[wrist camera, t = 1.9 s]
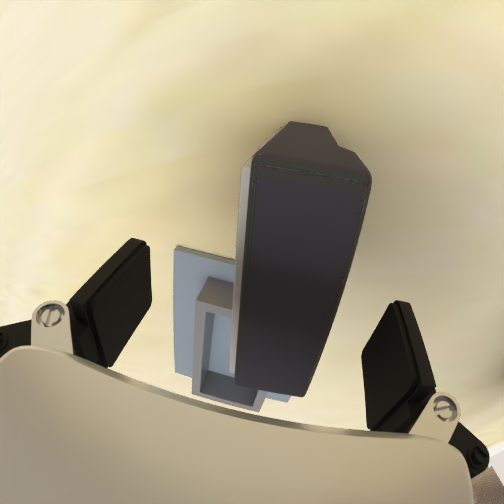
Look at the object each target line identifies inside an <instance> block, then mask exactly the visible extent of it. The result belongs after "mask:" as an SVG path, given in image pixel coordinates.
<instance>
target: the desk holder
mask: <svg viewBox="0 0 504 504" xmlns="http://www.w3.org/2000/svg"><path fill="white" fill-rule="evenodd" d="M234 274H235V260H231V259H227V258H223V257H219V256H215V255H212V254H208V253H204V252H200V251H196V250H192V249H188V248H184V247H180V246H177V247H176V248H175V249H174V280H173V316H174V356H175V372H177V373H179V374H182V375H185V376H189V377H192V394H194V395H197V396H200V397H204V398H207V399H210V400H214V401H217V402H221V403H224V404H228V405H232V406H236V407H239V408H243V409H247V410H252V411H256V412H259V411H260V409H261V406H262V404H263V402H264V399H265V398H269V399H274V400H278V401H283V402H288V400H289V399H290V397H291V395H284V394H278V393H272V392H267V391H261V390H256V389H251V388H246V387H242V386H237V385H235V383H234V377H235V373H230V370H229V369H230V346H231V327H232V308H233V291H234Z"/></svg>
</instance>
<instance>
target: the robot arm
mask: <svg viewBox="0 0 504 504" xmlns="http://www.w3.org/2000/svg"><path fill="white" fill-rule="evenodd" d="M151 303H152V290H151V268H150V247H149V246H147V244H146V242H145V241H143V240H139V239H135V238H131V239H129V240H128V241H127V242H126V243H125V244H124V245H123V246H122V247H121V248H120V249H119V250H118V251H117V252H116V253H115V254H114V255H113V256H112V257H110V258H109V259H108V260H107V261H106V262H105V263H104V264H103V265H102V266H101V267H100V268H99V269H98V270H97V271H96V272H95V274H94V275H93V276H92V277H91V278H90V279H89V280H88V281H87V282H86V283H85V284H84V285H83V286H82V287H81V288H80V289H79V290H78V291H77V292H76V293H75V294H74V295H73V297H72V298H71V299H70V301H69V302H68V303H67V304H66V305H65V304H64V303H62V302H61V301H56V300H55V301H47V302H44V303H42V304H41V305H39V306H38V307H37V308H36V309H35V310H34V312H33V314H32V320H28V321H23V322H19V323H15V324H10V325H6V326H1V327H0V504H504V486H503V484H502V483H501V481H500V479H499V478H498V476H497V474H496V473H495V471H494V469H493V467H492V466H491V467H489V468H488V464H489V452H488V450H487V448H486V446H485V445H484V444H483V443H482V442H481V441H480V440H479V439H478V438H476V437H475V436H474V435H473V434H472V433H471V432H470V431H469V430H468V429H467V428H465V427H464V426H463V425H462V424H461V423H460V422H459V419H460V415H461V412H460V407H459V404H458V403H457V401H456V399H455V398H454V397H453V396H451V395H450V394H448V393H445V392H437V393H436V390H435V387H436V384H435V380H434V376H433V372H432V369H431V365H430V362H429V358H428V355H427V352H426V349H425V345H424V342H423V339H422V336H421V333H420V330H419V327H418V324H417V321H416V318H415V316H414V313H413V310H412V307H411V305H410V303H408V302H403V301H398V300H396V301H394V303H390V304H389V305H388V307H387V309H386V311H385V313H384V315H383V316H382V318H381V320H380V322H379V323H378V325H377V327H376V329H375V330H374V332H373V334H372V336H371V337H370V339H369V341H368V342H367V344H366V346H365V347H364V349H363V351H362V356H361V359H362V369H363V379H364V391H365V404H366V420H367V428H368V429H370V431H364V430H353V429H342V428H332V427H324V426H316V425H309V424H302V423H296V422H290V421H284V420H279V419H273V418H268V417H263V416H258V415H254V414H249V413H245V412H240V411H236V410H232V409H228V408H224V407H220V406H216V405H213V404H209V403H205V402H202V401H198V400H195V399H192V398H188V397H185V396H182V395H179V394H175V393H172V392H169V391H166V390H163V389H160V388H157V387H155V386H152V385H149V384H146V383H144V382H141V381H138V380H136V379H133V378H130V377H128V376H125V375H123V374H120V373H117V372H115V371H112V370H110V369H107V367H112V366H113V364H114V363H115V361H116V359H117V358H118V356H119V355H120V353H121V351H122V350H123V348H124V347H125V345H126V344H127V342H128V340H129V339H130V337H131V336H132V334H133V333H134V331H135V329H136V328H137V326H138V325H139V323H140V322H141V320H142V319H143V317H144V316H145V314H146V313H147V311H148V310H149V308H150V306H151Z"/></svg>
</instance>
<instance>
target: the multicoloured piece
mask: <svg viewBox="0 0 504 504" xmlns="http://www.w3.org/2000/svg"><path fill="white" fill-rule="evenodd" d="M371 183H372V178H371V174H370V172H369V170H368V169H367V168H366V166H365V165H364V164H363V163H362V161H361V160H360V159H359V157H358V156H357V155H356V154H355V153H354V152H352V151H350V150H347V149H345V148H342V147H339V146H338V145H337V143H336V141H335V140H334V138H333V136H332V135H331V133H330V131H329V130H328V128H327V127H324V126H318V125H312V124H305V123H298V122H289V123H288V124H287V125H286V126H285V127H281V128H280V129H278V130H277V131H276V132H275V133H274V135H271V136H270V137H269V138H267V139H266V140H265V141H264V142H263V143H262V144H260V146H259V149H258V151H257V152H256V153H255V154H254V155H253V156H252V157H251V158H250V159H249V160H248V161H247V162H246V163H245V164H244V165H243V168H242V173H241V183H240V197H239V212H238V226H237V242H236V257H235V274H234V291H233V308H232V327H231V346H230V369H229V370H230V373H235V377H234V383H235V385H237V386H242V387H246V388H251V389H256V390H261V391H267V392H272V393H278V394H284V395H291V396H298V397H304V396H305V394H306V392H307V390H308V387H309V385H310V383H311V380H312V378H313V375H314V373H315V370H316V367H317V365H318V362H319V360H320V357H321V354H322V352H323V349H324V346H325V344H326V341H327V338H328V335H329V333H330V330H331V327H332V324H333V321H334V318H335V315H336V312H337V309H338V306H339V303H340V300H341V297H342V294H343V291H344V288H345V284H346V281H347V278H348V274H349V271H350V268H351V264H352V261H353V257H354V254H355V250H356V246H357V243H358V239H359V235H360V231H361V228H362V224H363V220H364V216H365V212H366V207H367V203H368V199H369V194H370V190H371Z"/></svg>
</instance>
